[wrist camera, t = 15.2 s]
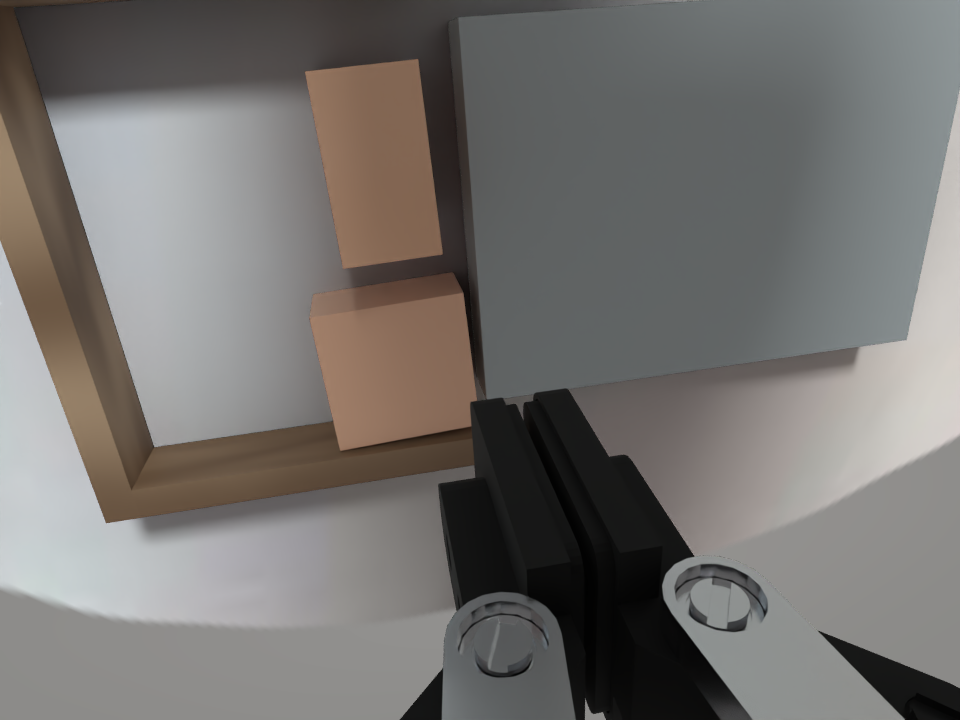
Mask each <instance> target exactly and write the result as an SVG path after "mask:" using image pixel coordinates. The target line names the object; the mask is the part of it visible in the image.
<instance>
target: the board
mask: <svg viewBox="0 0 960 720" xmlns="http://www.w3.org/2000/svg"><path fill="white" fill-rule="evenodd" d="M448 28H449V40H450V53H451V65H452V78H453V90H454V103H455V115H456V128H457V140H458V153H459V165H460V178H461V190H462V203H463V215H464V228H465V240H466V253H467V265H468V277H469V290H470V302H471V315H472V327H473V340H474V352H475V365H476V375H477V378H478V380H479V383H480V385H481V388H482V390H483V393H484V395H485V398H486V400H487V399H494V398H503V399H504V398H511V397H518V396H525V395H532V394H535V393H536V392H543V391H550V390H557V389H564V388H567V389H573V388H580V387H586V386H593V385H600V384H607V383H614V382H621V381H628V380H635V379H641V378H648V377H655V376H662V375H669V374H676V373H683V372H689V371H696V370H703V369H710V368H717V367H724V366H731V365H737V364H744V363H751V362H758V361H765V360H772V359H779V358H786V357H792V356H799V355H806V354H813V353H820V352H827V351H834V350H840V349H847V348H854V347H861V346H868V345H875V344H882V343H889V342H895V341H902V340H907V335H908V330H909V325H910V321H911V316H912V311H913V307H914V302H915V297H916V292H917V288H918V283H919V278H920V274H921V269H922V264H923V259H924V255H925V250H926V245H927V241H928V236H929V231H930V226H931V222H932V217H933V212H934V208H935V203H936V198H937V193H938V189H939V184H940V179H941V175H942V170H943V165H944V160H945V156H946V151H947V146H948V142H949V137H950V132H951V127H952V123H953V118H954V113H955V109H956V104H957V99H958V94H959V90H960V0H702V1H687V2H672V3H658V4H643V5H629V6H614V7H599V8H585V9H570V10H556V11H541V12H526V13H512V14H497V15H483V16H468V17H458V18H456V19H453V20H451V21H449V22H448Z"/></svg>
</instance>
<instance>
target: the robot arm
mask: <svg viewBox="0 0 960 720" xmlns="http://www.w3.org/2000/svg"><path fill="white" fill-rule="evenodd" d="M470 415H471V427H472V440H473V452H474V465H475V477H476V478H473V479H466V480H460V481H454V482H447V483H441V484H438V488H439V499H440V508H441V517H442V525H443V533H444V540H445V547H446V554H447V560H448V566H449V572H450V577H451V583H452V588H453V594H454V599H455V605H456V610H457V612H456V613H455V614H454V616H453V617H452V619H451V621H450V623H449V624H448V625H447V629H446V634H445V639H444V661H443V669H442V670H441V671H440V672H439V673H438V675H437V676H436V677H435V678H434V679H433V681H432V682H431V683H430V684H429V685H428V687H427V688H426V689H425V690H424V692H423V693H422V694H421V695H420V696H419V697H418V699H417V700H416V701H415V702H414V703H413V705H412V706H411V707H410V708H409V709H408V711H407V712H406V713H405V714H404V715H403V717H402V718H401V719H400V720H585V698H586V701H587V704H588V707H589V709H590V711H591V713H593V714H596V713H601V712H603V713H604V716H605V718H606V720H960V688H958V687H956V686H954V685H952V684H950V683H948V682H945V681H943V680H940V679H937V678H935V677H933V676H930V675H928V674H925V673H923V672H920V671H918V670H915V669H913V668H910V667H908V666H905V665H903V664H900V663H898V662H895V661H893V660H890V659H888V658H885V657H883V656H880V655H878V654H875V653H872V652H870V651H868V650H865V649H863V648H860V647H858V646H855V645H853V644H850V643H847V642H845V641H843V640H840V639H838V638H835V637H833V636H830V635H828V634H825V633H822V632H820V631H817V630H816V629H815V628H814V627H813V626H812V625H811V624H810V623H809V622H808V621H807V620H806V619H805V618H804V617H803V616H802V615H801V614H800V613H799V611H797V610H796V608H795V607H794V606H793V605H792V604H791V603H790V602H789V601H788V600H787V599H786V598H785V597H784V596H783V595H782V594H781V593H780V592H779V591H778V590H777V589H776V588H775V587H774V586H773V585H772V584H771V583H770V582H769V581H768V580H767V579H766V578H764V577H763V576H762V575H761V574H759V573H758V572H757V571H756V570H754V569H752V568H750V567H748V566H746V565H745V564H742V563H741V562H738V561H736V560H732V559H728V558H724V557H720V556H704V555H703V556H697V557H694V555H693V553H692V552H691V550H690V549H689V547H688V546H687V544H686V543H685V541H684V540H683V538H682V537H681V535H680V534H679V532H678V531H677V529H676V527H675V526H674V524H673V523H672V521H671V520H670V518H669V517H668V515H667V514H666V512H665V511H664V509H663V508H662V506H661V505H660V503H659V501H658V500H657V498H656V497H655V495H654V494H653V492H652V491H651V489H650V488H649V486H648V485H647V483H646V482H645V480H644V478H643V477H642V475H641V474H640V472H639V471H638V469H637V468H636V466H635V465H634V463H633V462H632V460H631V459H630V458H629V457H628V456H626V455H618V456H612V457H609V456H608V454H607V453H606V451H605V449H604V448H603V446H602V444H601V443H600V441H599V440H598V438H597V436H596V435H595V433H594V431H593V430H592V428H591V426H590V425H589V423H588V421H587V420H586V418H585V416H584V415H583V413H582V411H581V410H580V408H579V407H578V405H577V403H576V402H575V400H574V398H573V397H572V395H571V393H570V392H569V390H568V389H567V388H564V389H557V390H550V391H543V392H536V393H535V394H534V398H533V401H531V402H525V403H524V406H523V416H524V421H523V419H522V417H521V414H520V412H519V410H518V407H517V405H516V404H510V405H506V404H505V402H504V400H503V398H494V399H487V400H480V401H473V402H470Z"/></svg>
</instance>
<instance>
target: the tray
mask: <svg viewBox="0 0 960 720" xmlns="http://www.w3.org/2000/svg"><path fill="white" fill-rule="evenodd" d="M112 1H129V0H0V241H1V244H2V246H3V249H4V252H5V254H6V257H7V260H8V262H9V265H10V268H11V270H12V273H13V276H14V278H15V281H16V284H17V286H18V289H19V292H20V294H21V297H22V300H23V302H24V305H25V308H26V310H27V313H28V316H29V318H30V321H31V324H32V326H33V329H34V332H35V334H36V337H37V340H38V342H39V345H40V348H41V350H42V353H43V356H44V358H45V361H46V364H47V366H48V369H49V372H50V374H51V377H52V380H53V383H54V385H55V388H56V391H57V393H58V396H59V399H60V401H61V404H62V407H63V409H64V412H65V415H66V417H67V420H68V423H69V425H70V428H71V431H72V433H73V436H74V439H75V441H76V444H77V447H78V449H79V452H80V455H81V457H82V460H83V463H84V465H85V468H86V471H87V473H88V476H89V479H90V481H91V484H92V487H93V489H94V492H95V495H96V497H97V500H98V503H99V505H100V508H101V511H102V513H103V516H104V519H105V521H106V523H110V522H117V521H123V520H129V519H136V518H142V517H148V516H155V515H161V514H167V513H174V512H180V511H186V510H193V509H199V508H205V507H212V506H218V505H224V504H231V503H237V502H243V501H250V500H256V499H262V498H269V497H275V496H281V495H288V494H294V493H300V492H307V491H313V490H319V489H326V488H332V487H338V486H344V485H351V484H357V483H363V482H370V481H376V480H382V479H389V478H395V477H401V476H408V475H414V474H420V473H427V472H433V471H439V470H446V469H452V468H458V467H465V466H471V465H474V452H473V440H472V427H471V426H470V427H465V428H459V429H454V430H449V431H443V432H438V433H433V434H427V435H422V436H417V437H412V438H406V439H401V440H396V441H390V442H385V443H380V444H374V445H369V446H364V447H358V448H353V449H348V450H342V451H340V448H339V444H338V439H337V435H336V431H335V427H334V422H326V423H319V424H312V425H305V426H299V427H292V428H285V429H278V430H271V431H264V432H257V433H250V434H244V435H237V436H230V437H223V438H216V439H209V440H202V441H195V442H188V443H182V444H175V445H168V446H161V447H153V444H152V440H151V437H150V434H149V431H148V428H147V425H146V422H145V419H144V415H143V412H142V409H141V406H140V403H139V400H138V397H137V393H136V390H135V387H134V384H133V381H132V378H131V375H130V372H129V368H128V365H127V362H126V359H125V356H124V353H123V350H122V346H121V343H120V340H119V337H118V334H117V331H116V328H115V325H114V321H113V318H112V315H111V312H110V309H109V306H108V303H107V299H106V296H105V293H104V290H103V287H102V284H101V281H100V278H99V274H98V271H97V268H96V265H95V262H94V259H93V256H92V252H91V249H90V246H89V243H88V240H87V237H86V234H85V231H84V227H83V224H82V221H81V218H80V215H79V212H78V209H77V205H76V202H75V199H74V196H73V193H72V190H71V187H70V184H69V180H68V177H67V174H66V171H65V168H64V165H63V162H62V158H61V155H60V152H59V149H58V146H57V143H56V140H55V137H54V133H53V130H52V127H51V124H50V121H49V118H48V115H47V112H46V108H45V105H44V102H43V99H42V96H41V93H40V90H39V86H38V83H37V80H36V77H35V74H34V71H33V68H32V65H31V61H30V58H29V55H28V52H27V49H26V46H25V43H24V39H23V36H22V33H21V30H20V27H19V24H18V21H17V18H16V14H15V11H14V7H31V6H47V5H63V4H80V3H96V2H112Z"/></svg>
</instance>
